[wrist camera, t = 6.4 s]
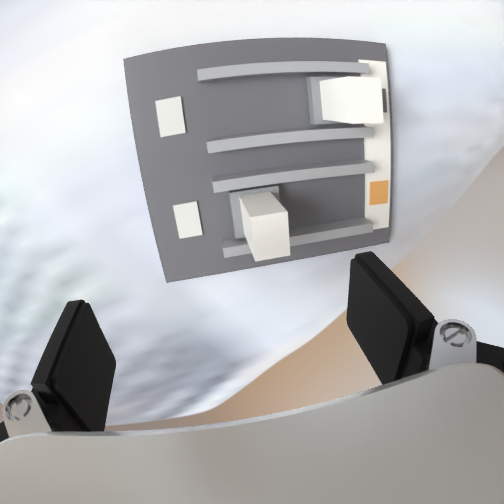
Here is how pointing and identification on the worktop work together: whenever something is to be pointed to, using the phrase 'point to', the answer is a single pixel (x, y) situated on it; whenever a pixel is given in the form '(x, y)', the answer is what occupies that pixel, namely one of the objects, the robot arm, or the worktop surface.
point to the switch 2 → (345, 100)
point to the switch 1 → (261, 221)
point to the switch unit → (257, 149)
